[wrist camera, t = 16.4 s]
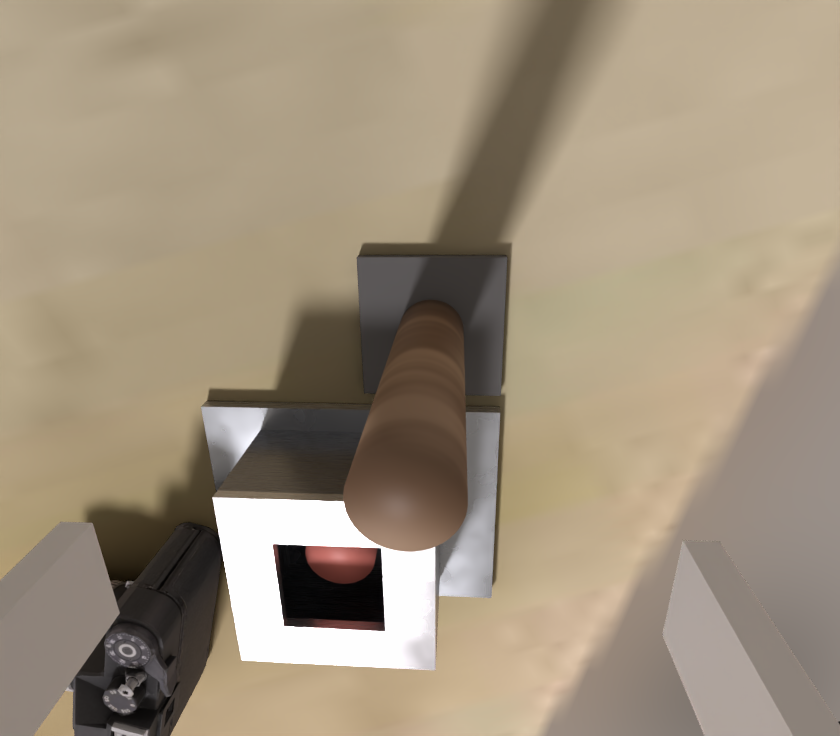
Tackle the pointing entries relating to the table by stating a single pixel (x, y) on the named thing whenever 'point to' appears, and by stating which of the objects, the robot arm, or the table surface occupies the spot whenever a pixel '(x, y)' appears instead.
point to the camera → (152, 642)
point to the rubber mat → (444, 281)
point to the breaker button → (341, 562)
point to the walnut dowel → (414, 438)
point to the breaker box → (334, 538)
